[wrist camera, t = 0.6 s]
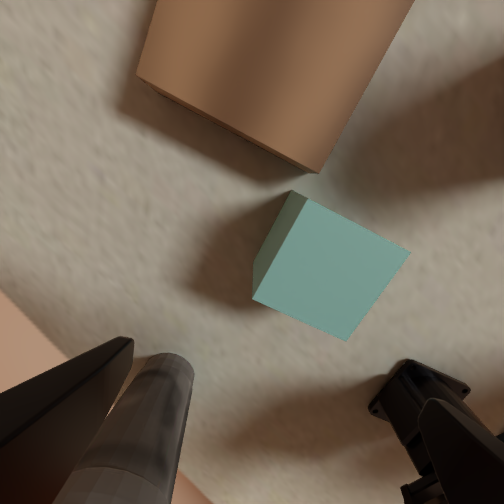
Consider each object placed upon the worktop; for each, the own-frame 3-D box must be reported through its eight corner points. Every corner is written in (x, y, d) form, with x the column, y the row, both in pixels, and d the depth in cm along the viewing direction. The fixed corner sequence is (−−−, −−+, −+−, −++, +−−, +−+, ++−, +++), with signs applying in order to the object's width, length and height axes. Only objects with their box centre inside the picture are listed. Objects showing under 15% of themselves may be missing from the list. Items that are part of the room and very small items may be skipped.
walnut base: (408, -12, 14) (446, -58, 11) (308, 173, 17) (318, 173, 14) (230, -132, 13) (222, -219, 10) (157, 92, 16) (135, 74, 13)
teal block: (363, 227, 18) (411, 252, 13) (320, 293, 20) (345, 341, 14) (291, 189, 18) (308, 198, 12) (253, 261, 19) (252, 299, 14)
